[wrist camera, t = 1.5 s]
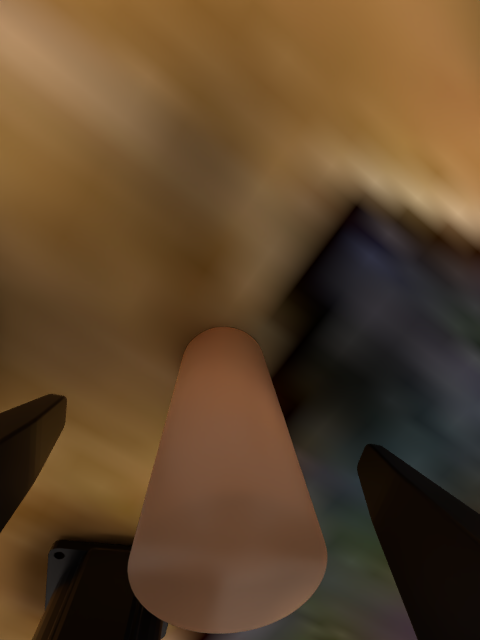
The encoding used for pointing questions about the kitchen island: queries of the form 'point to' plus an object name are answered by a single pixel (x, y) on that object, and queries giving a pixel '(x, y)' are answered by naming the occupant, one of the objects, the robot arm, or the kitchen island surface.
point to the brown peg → (225, 499)
